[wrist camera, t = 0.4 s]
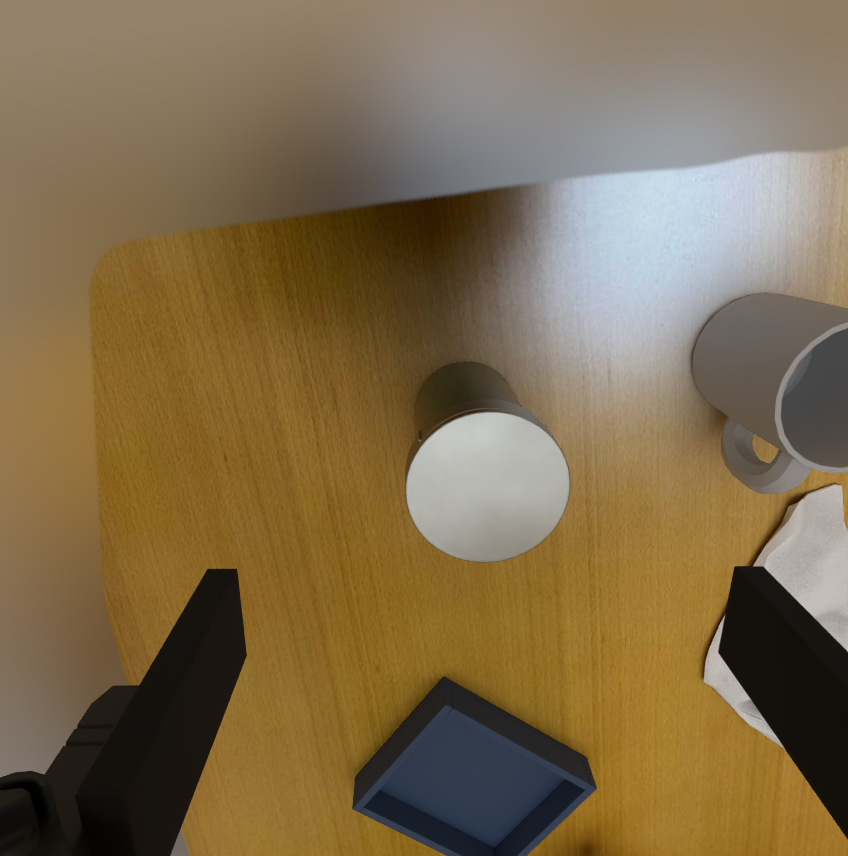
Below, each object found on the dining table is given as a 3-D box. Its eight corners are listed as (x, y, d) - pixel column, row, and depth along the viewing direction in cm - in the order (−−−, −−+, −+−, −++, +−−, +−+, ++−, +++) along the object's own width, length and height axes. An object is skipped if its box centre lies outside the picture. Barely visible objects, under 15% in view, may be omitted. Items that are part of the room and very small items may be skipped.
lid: (373, 489, 28) (370, 508, 26) (465, 365, 26) (470, 377, 24) (496, 566, 29) (502, 589, 27) (592, 454, 27) (605, 471, 26)
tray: (354, 777, 46) (351, 809, 43) (443, 676, 43) (445, 704, 40) (495, 847, 48) (499, 881, 46) (587, 757, 45) (597, 788, 43)
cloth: (705, 499, 39) (723, 516, 36) (925, 471, 38) (956, 487, 36) (698, 802, 47) (711, 830, 45) (877, 781, 47) (900, 808, 45)
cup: (835, 309, 35) (970, 340, 26) (759, 466, 38) (859, 539, 30) (718, 276, 34) (820, 297, 26) (651, 439, 37) (722, 506, 29)
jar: (394, 422, 36) (389, 500, 27) (454, 340, 35) (472, 391, 25) (475, 475, 38) (498, 569, 28) (536, 399, 36) (584, 469, 26)
